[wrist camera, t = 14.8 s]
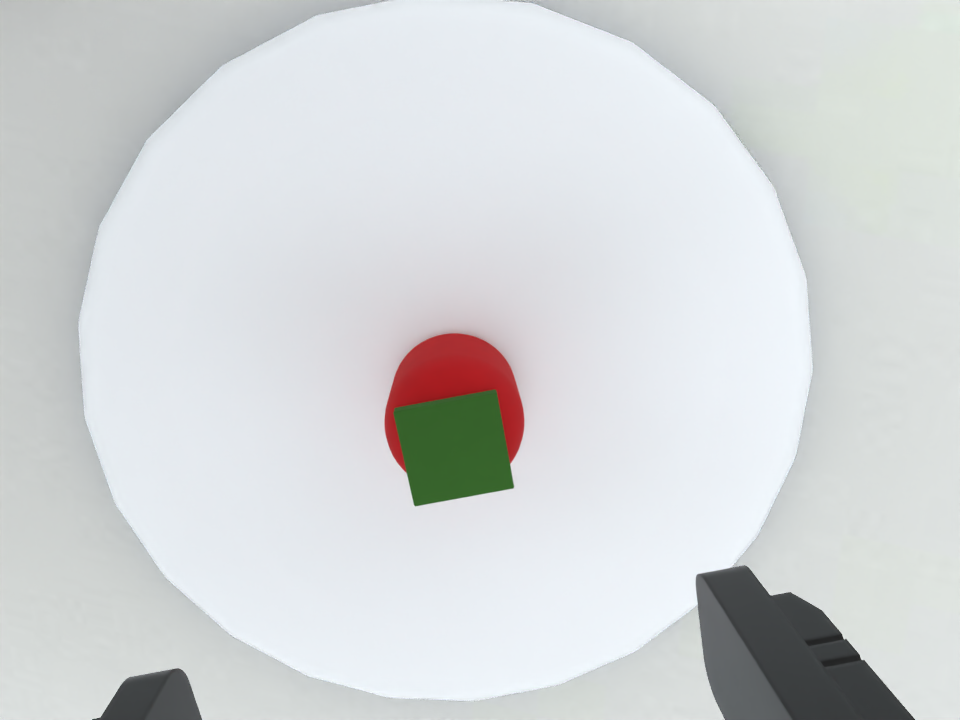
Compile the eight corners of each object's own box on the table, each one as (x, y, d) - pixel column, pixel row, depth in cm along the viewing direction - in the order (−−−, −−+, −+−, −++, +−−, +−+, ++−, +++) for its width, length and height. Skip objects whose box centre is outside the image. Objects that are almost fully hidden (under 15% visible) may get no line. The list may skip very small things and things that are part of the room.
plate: (19, 23, 22) (-6, 15, 21) (821, -22, 23) (842, -32, 21) (159, 706, 29) (146, 730, 27) (782, 660, 29) (797, 681, 28)
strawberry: (406, 461, 25) (394, 534, 20) (380, 345, 24) (361, 392, 19) (525, 439, 25) (543, 507, 20) (505, 322, 24) (518, 363, 19)
